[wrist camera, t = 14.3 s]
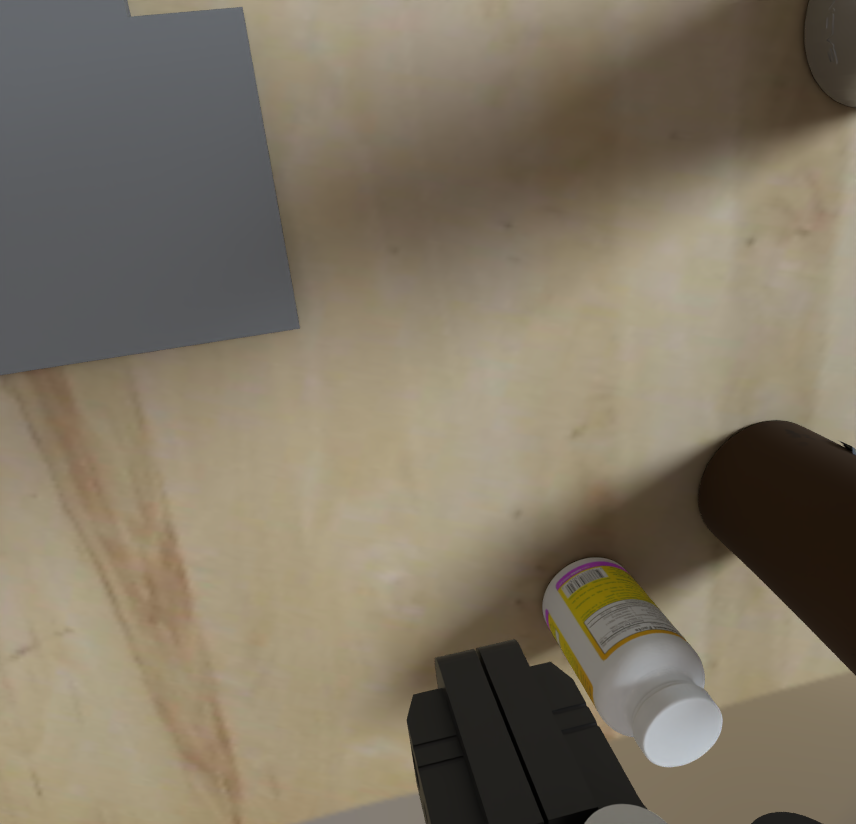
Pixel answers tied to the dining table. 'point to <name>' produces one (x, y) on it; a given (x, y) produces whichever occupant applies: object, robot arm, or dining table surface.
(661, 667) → the supplement bottle
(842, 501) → the olive oil
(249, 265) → the board
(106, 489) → the dining table surface
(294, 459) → the dining table surface
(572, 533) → the dining table surface
